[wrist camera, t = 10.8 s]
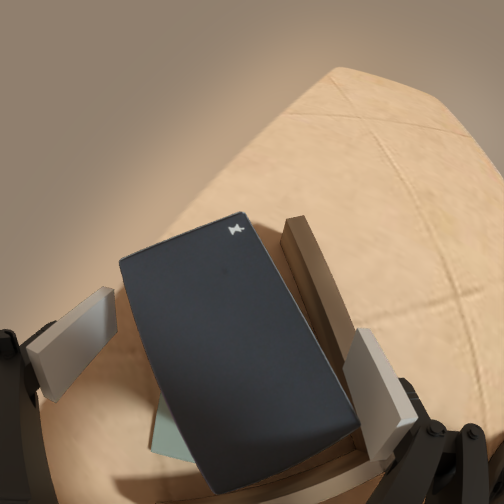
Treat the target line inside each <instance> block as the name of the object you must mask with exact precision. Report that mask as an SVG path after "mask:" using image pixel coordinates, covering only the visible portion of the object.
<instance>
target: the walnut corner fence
mask: <svg viewBox="0 0 504 504" xmlns="http://www.w3.org/2000/svg"><path fill="white" fill-rule="evenodd" d="M280 244H281V246H282V249H283V251H284V254H285V256H286V259H287V261H288V264H289V266H290V269H291V271H292V274H293V276H294V279H295V281H296V284H297V286H298V289H299V292H300V294H301V297H302V299H303V302H304V304H305V307H306V310H307V312H308V315H309V318H310V320H311V323H312V325H313V328H314V331H315V333H316V336H317V339H318V341H319V344H320V347H321V349H322V351H323V352H324V354H325V356H326V358H327V360H328V362H329V364H330V366H331V367H332V369H333V371H334V373H335V375H336V376H337V378H338V380H339V382H340V384H341V386H342V388H343V390H344V392H345V393H346V395H347V397H348V399H349V401H350V403H351V405H352V406H353V408H354V410H355V412H356V409H355V406H354V403H353V400H352V396H351V393H350V390H349V387H348V384H347V381H346V378H345V375H344V371H343V366H344V363H345V360H346V358H347V355H348V352H349V350H350V347H351V344H352V341H353V338H354V335H355V333H356V331H355V329H354V326H353V324H352V321H351V319H350V316H349V314H348V311H347V309H346V307H345V304H344V302H343V299H342V297H341V295H340V292H339V290H338V288H337V286H336V283H335V281H334V279H333V276H332V274H331V272H330V270H329V267H328V265H327V263H326V261H325V259H324V256H323V254H322V252H321V250H320V248H319V246H318V243H317V241H316V239H315V237H314V235H313V233H312V231H311V229H310V227H309V224H308V222H307V220H306V218H305V216H304V215H303V216H298V217H293V218H289V219H286V222H285V226H284V230H283V234H282V237H281V241H280ZM356 414H357V413H356ZM351 435H352V438H353V441H354V444H355V447H356V450H354V451H352V452H350V453H348V454H346V455H344V456H342V457H339V458H337V459H335V460H333V461H330V462H328V463H326V464H323V465H321V466H318V467H316V468H313V469H310V470H308V471H305V472H302V473H300V474H297V475H294V476H291V477H288V478H285V479H282V480H279V481H275V482H272V483H269V484H265V485H261V486H258V487H254V488H250V489H246V490H242V491H237V492H232V493H228V494H223V495H217V496H211V497H205V498H198V499H191V500H182V501H171V502H157V503H156V504H318V503H320V502H323V501H325V500H328V499H330V498H332V497H335V496H337V495H339V494H342V493H344V492H346V491H348V490H350V489H352V488H354V487H356V486H358V485H360V484H362V483H364V482H366V481H368V480H370V479H372V478H374V477H376V476H378V475H379V474H381V473H383V472H384V470H385V469H386V468H387V467H388V466H389V465H390V464H391V463H392V461H393V460H394V459H395V455H394V453H393V452H392V453H391V455H390V456H389V457H388V458H387V459H386V460H379V461H371V462H370V458H369V454H368V451H367V447H366V444H365V440H364V437H363V433H362V430H361V426H360V427H359V428H358V429H356V430H355V431H354V432H352V433H351Z"/></svg>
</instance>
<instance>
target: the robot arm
mask: <svg viewBox="0 0 504 504" xmlns="http://www.w3.org/2000/svg"><path fill="white" fill-rule="evenodd" d="M116 333H117V321H116V310H115V296H114V289H112V288H107V287H101V288H100V289H99V290H97V291H96V292H95V293H93V294H92V295H91V296H89V297H88V298H87V299H85V300H84V301H83V302H81V303H80V304H79V305H78V306H76V307H75V308H74V309H72V310H71V311H70V312H68V313H67V314H66V315H65V316H63V317H62V318H61V319H60V320H58V321H53V322H50V323H48V324H46V325H45V326H44V327H42V328H41V330H39V331H37V332H36V334H34V335H32V336H31V337H30V338H29V339H28V340H26V341H25V342H24V343H23V344H21V345H20V346H19V344H18V341H17V338H16V334H15V333H14V332H13V331H12V330H8V329H3V330H0V504H59V503H58V500H57V497H56V494H55V490H54V487H53V483H52V479H51V475H50V471H49V467H48V462H47V458H46V453H45V447H44V442H43V436H42V429H41V421H40V412H39V402H38V395H37V392H36V391H37V390H38V389H39V388H41V391H42V393H43V395H44V397H46V398H48V399H49V400H51V401H53V402H55V403H57V401H58V400H59V399H60V398H61V397H62V395H63V394H64V393H65V392H66V390H67V389H68V388H69V387H70V386H71V384H72V383H73V382H74V381H75V380H76V378H77V377H78V376H79V375H80V374H81V373H82V371H83V370H84V369H85V368H86V367H87V366H88V364H89V363H90V362H91V361H92V360H93V359H94V357H95V356H96V355H97V354H98V353H99V352H100V351H101V349H102V348H103V347H104V346H105V345H106V344H107V343H108V341H109V340H110V339H111V338H112V337H113V336H114V335H115V334H116ZM343 371H344V375H345V378H346V381H347V384H348V387H349V390H350V393H351V396H352V400H353V403H354V406H355V409H356V413H357V416H358V418H359V420H360V421H361V430H362V433H363V437H364V440H365V444H366V447H367V451H368V454H369V458H370V462H371V461H379V460H386V459H387V458H388V457H389V456H390V455H391V453H392V452H393V453H394V455H395V459H394V460H393V461H392V463H391V464H390V465H389V466H388V467H387V468H386V469H385V470H384V472H386V473H385V475H384V476H383V478H382V480H381V481H380V483H379V484H378V486H377V487H376V489H375V491H374V492H373V494H372V495H371V497H370V498H369V499H368V501H367V502H366V504H422V503H423V501H424V498H425V496H426V499H425V504H504V442H503V443H502V444H501V445H500V447H499V448H498V449H497V451H496V452H495V454H494V455H493V457H492V458H491V460H490V462H489V463H488V458H487V448H486V440H485V434H484V431H483V430H482V429H481V427H479V426H478V425H476V424H473V423H468V424H466V425H464V427H463V428H462V429H461V431H460V432H459V431H447V429H446V427H445V426H444V425H443V424H442V423H440V422H439V421H436V420H431V419H430V417H429V415H428V414H427V412H426V410H425V408H424V406H423V404H422V403H421V401H420V399H419V397H418V395H417V394H416V393H415V390H414V388H413V386H412V385H411V384H410V383H409V382H408V381H407V380H406V379H405V378H398V377H397V376H396V374H395V372H394V370H393V368H392V366H391V365H390V363H389V361H388V359H387V357H386V356H385V354H384V352H383V350H382V349H381V347H380V345H379V343H378V342H377V340H376V338H375V336H374V335H373V333H372V331H371V330H370V329H368V328H357V330H356V333H355V335H354V338H353V341H352V344H351V347H350V350H349V352H348V355H347V358H346V360H345V363H344V366H343Z"/></svg>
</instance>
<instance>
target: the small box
mask: <svg viewBox="0 0 504 504" xmlns="http://www.w3.org/2000/svg"><path fill="white" fill-rule="evenodd" d="M119 266H120V270H121V274H122V277H123V282H124V286H125V289H126V293H127V296H128V299H129V303H130V306H131V310H132V313H133V316H134V319H135V322H136V325H137V328H138V331H139V334H140V337H141V340H142V343H143V346H144V349H145V352H146V354H147V357H148V360H149V362H150V365H151V368H152V370H153V373H154V375H155V378H156V380H157V383H158V385H159V388H160V390H161V392H162V395H163V397H164V399H165V402H166V404H167V406H168V409H169V411H170V413H171V415H172V417H173V419H174V422H175V424H176V426H177V428H178V430H179V432H180V434H181V436H182V438H183V440H184V442H185V444H186V446H187V448H188V450H189V452H190V454H191V456H192V457H193V459H194V461H195V463H196V465H197V467H198V469H199V470H200V472H201V474H202V476H203V477H204V479H205V481H206V482H207V484H208V486H209V487H210V489H211V491H212V492H213V493H214V494H217V495H220V494H224V493H227V492H231V491H234V490H237V489H240V488H243V487H246V486H249V485H251V484H254V483H256V482H259V481H261V480H263V479H266V478H269V477H271V476H273V475H275V474H278V473H280V472H282V471H285V470H287V469H288V468H291V467H293V466H295V465H297V464H298V463H300V462H302V461H304V460H306V459H308V458H310V457H312V456H314V455H316V454H318V453H319V452H321V451H323V450H324V449H326V448H328V447H330V446H331V445H333V444H335V443H336V442H338V441H339V440H341V439H343V438H344V437H346V436H348V435H349V434H351V433H352V432H354V431H355V430H356V429H358V428H359V427H360V426H361V421H360V420H359V418H358V416H357V414H356V412H355V410H354V408H353V406H352V405H351V403H350V401H349V399H348V397H347V395H346V393H345V392H344V390H343V388H342V386H341V384H340V382H339V380H338V378H337V376H336V375H335V373H334V371H333V369H332V367H331V366H330V364H329V362H328V360H327V358H326V356H325V354H324V352H323V351H322V349H321V347H320V345H319V344H318V342H317V340H316V338H315V336H314V334H313V332H312V330H311V328H310V327H309V325H308V323H307V321H306V319H305V318H304V316H303V314H302V312H301V311H300V309H299V307H298V305H297V303H296V302H295V300H294V298H293V296H292V294H291V293H290V291H289V289H288V288H287V286H286V284H285V282H284V280H283V278H282V277H281V275H280V273H279V271H278V269H277V268H276V266H275V264H274V262H273V261H272V259H271V257H270V255H269V253H268V251H267V250H266V248H265V246H264V245H263V243H262V241H261V240H260V238H259V236H258V234H257V233H256V231H255V229H254V228H253V226H252V224H251V222H250V220H249V219H248V217H247V215H246V214H245V213H244V212H237V213H234V214H232V215H229V216H227V217H224V218H222V219H219V220H216V221H213V222H211V223H208V224H206V225H203V226H200V227H197V228H195V229H193V230H190V231H187V232H185V233H182V234H180V235H177V236H174V237H172V238H169V239H167V240H164V241H162V242H159V243H157V244H154V245H152V246H149V247H147V248H145V249H142V250H140V251H137V252H135V253H133V254H130V255H128V256H126V257H123V258H121V259H120V260H119Z"/></svg>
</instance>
